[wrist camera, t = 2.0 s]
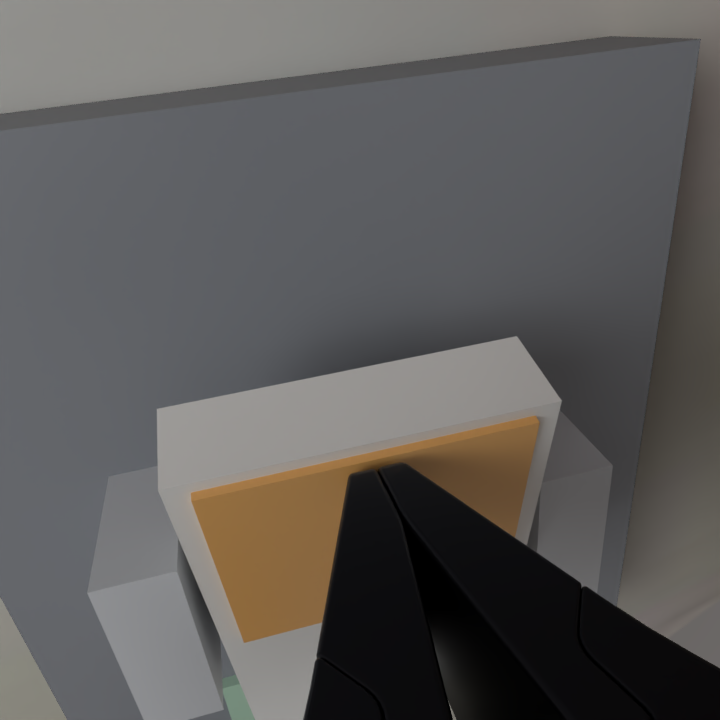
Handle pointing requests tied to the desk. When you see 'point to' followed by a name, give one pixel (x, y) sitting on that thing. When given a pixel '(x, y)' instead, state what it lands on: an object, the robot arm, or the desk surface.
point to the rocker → (336, 486)
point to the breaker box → (312, 309)
